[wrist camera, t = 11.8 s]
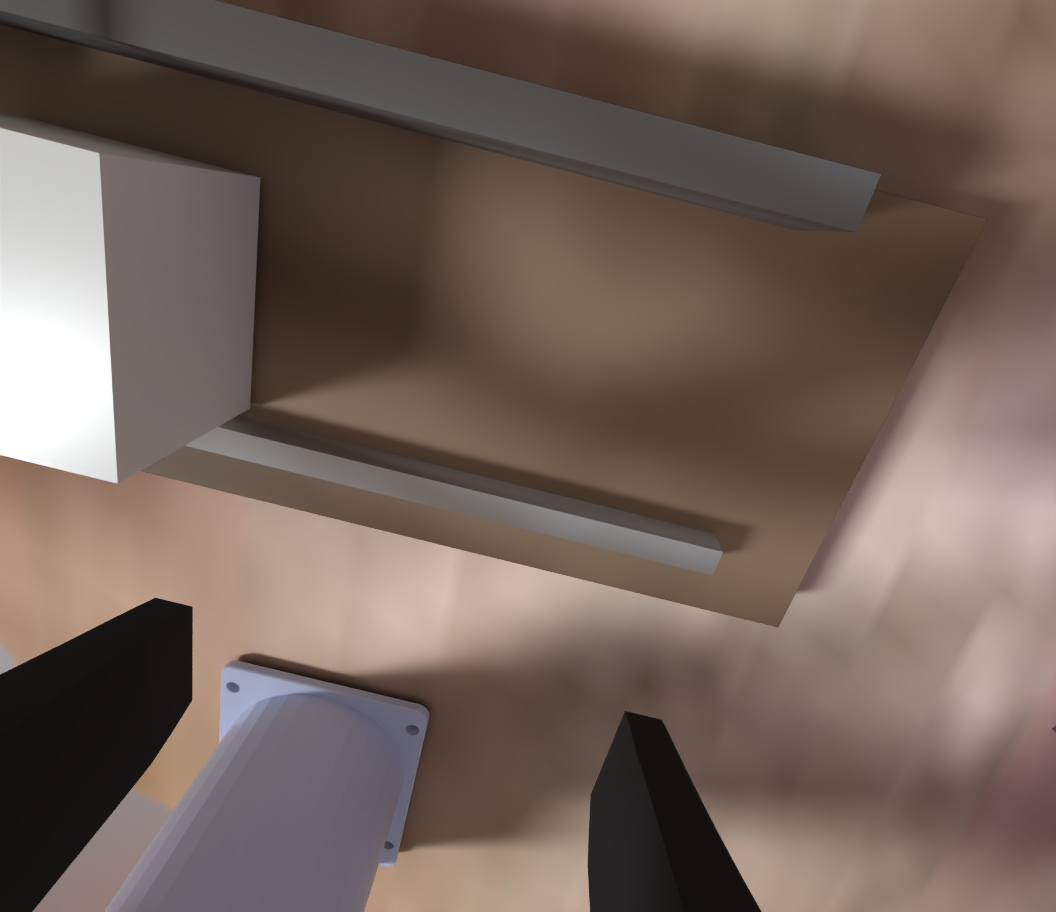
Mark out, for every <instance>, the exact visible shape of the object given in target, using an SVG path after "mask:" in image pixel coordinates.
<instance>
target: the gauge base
mask: <svg viewBox="0 0 1056 912" xmlns="http://www.w3.org/2000/svg"><path fill="white" fill-rule="evenodd" d="M0 112H4V113H9V114H14V115H18V116H22V117H26V118H30V119H34V120H38V121H42V122H46V123H50V124H54V125H57V126H61V127H65V128H69V129H73V130H77V131H81V132H85V133H89V134H93V135H96V136H100V137H104V138H108V139H112V140H116V141H120V142H124V143H128V144H132V145H136V146H139V147H143V148H147V149H151V150H155V151H159V152H163V153H167V154H171V155H175V156H179V157H182V158H186V159H190V160H194V161H198V162H202V163H206V164H210V165H214V166H218V167H222V168H225V169H229V170H233V171H237V172H241V173H245V174H249V175H253V176H257V177H260V198H259V220H258V242H257V265H256V287H255V310H254V332H253V355H252V377H251V400H250V409H248V410H247V411H245V412H243V413H241V414H240V415H238V416H236V417H234V418H233V419H231V420H229V421H227V422H225V423H224V424H222V425H220V426H218V427H217V428H215V429H213V430H211V431H210V432H208V433H206V434H204V435H202V436H201V437H199V438H197V439H195V440H194V441H192V442H190V443H188V444H187V445H185V446H183V447H181V448H180V449H178V450H176V451H174V452H172V453H171V454H169V455H167V456H165V457H164V458H162V459H160V460H158V461H157V462H155V463H153V464H151V465H149V466H148V467H146V468H144V469H142V470H141V471H142V472H146V473H151V474H155V475H159V476H163V477H167V478H171V479H175V480H179V481H183V482H187V483H191V484H195V485H200V486H204V487H208V488H212V489H216V490H220V491H224V492H228V493H232V494H236V495H240V496H244V497H248V498H253V499H257V500H261V501H265V502H269V503H273V504H277V505H281V506H285V507H289V508H293V509H297V510H302V511H306V512H310V513H314V514H318V515H322V516H326V517H330V518H334V519H338V520H342V521H346V522H350V523H355V524H359V525H363V526H367V527H371V528H375V529H379V530H383V531H387V532H391V533H395V534H399V535H404V536H408V537H412V538H416V539H420V540H424V541H428V542H432V543H436V544H440V545H444V546H448V547H452V548H457V549H461V550H465V551H469V552H473V553H477V554H481V555H485V556H489V557H493V558H497V559H501V560H505V561H510V562H514V563H518V564H522V565H526V566H530V567H534V568H538V569H542V570H546V571H550V572H554V573H559V574H563V575H567V576H571V577H575V578H579V579H583V580H587V581H591V582H595V583H599V584H603V585H607V586H612V587H616V588H620V589H624V590H628V591H632V592H636V593H640V594H644V595H648V596H652V597H656V598H661V599H665V600H669V601H673V602H677V603H681V604H685V605H689V606H693V607H697V608H701V609H705V610H709V611H714V612H718V613H722V614H726V615H730V616H734V617H738V618H742V619H746V620H750V621H754V622H758V623H762V624H767V625H771V626H775V627H779V625H780V623H781V621H782V619H783V617H784V615H785V613H786V611H787V609H788V607H789V605H790V603H791V601H792V599H793V597H794V596H795V594H796V592H797V590H798V588H799V586H800V584H801V582H802V580H803V578H804V576H805V574H806V572H807V570H808V568H809V566H810V564H811V562H812V560H813V559H814V557H815V555H816V553H817V551H818V549H819V547H820V545H821V543H822V541H823V539H824V537H825V535H826V533H827V531H828V529H829V527H830V525H831V523H832V521H833V520H834V518H835V516H836V514H837V512H838V510H839V508H840V506H841V504H842V502H843V500H844V498H845V496H846V494H847V492H848V490H849V488H850V486H851V484H852V483H853V481H854V479H855V477H856V475H857V473H858V471H859V469H860V467H861V465H862V463H863V461H864V459H865V457H866V455H867V453H868V451H869V449H870V447H871V446H872V444H873V442H874V440H875V438H876V436H877V434H878V432H879V430H880V428H881V426H882V424H883V422H884V420H885V418H886V416H887V414H888V412H889V410H890V409H891V407H892V405H893V403H894V401H895V399H896V397H897V395H898V393H899V391H900V389H901V387H902V385H903V383H904V381H905V379H906V377H907V375H908V373H909V372H910V370H911V368H912V366H913V364H914V362H915V360H916V358H917V356H918V354H919V352H920V350H921V348H922V346H923V344H924V342H925V340H926V338H927V336H928V335H929V333H930V331H931V329H932V327H933V325H934V323H935V321H936V319H937V317H938V315H939V313H940V311H941V309H942V307H943V305H944V303H945V301H946V299H947V298H948V296H949V294H950V292H951V290H952V288H953V286H954V284H955V282H956V280H957V278H958V276H959V274H960V272H961V270H962V268H963V266H964V264H965V262H966V260H967V259H968V257H969V255H970V253H971V251H972V249H973V247H974V245H975V243H976V241H977V239H978V237H979V235H980V233H981V231H982V229H983V227H984V225H985V223H986V222H987V220H988V219H984V218H980V217H976V216H973V215H969V214H965V213H961V212H957V211H953V210H950V209H946V208H942V207H938V206H934V205H930V204H927V203H923V202H919V201H915V200H911V199H907V198H904V197H900V196H896V195H892V194H888V193H884V192H881V191H877V190H875V188H876V186H877V183H878V181H879V179H880V176H881V174H878V173H874V172H871V171H867V170H863V169H859V168H855V167H851V166H848V165H844V164H840V163H836V162H832V161H828V160H825V159H821V158H817V157H813V156H809V155H805V154H802V153H798V152H794V151H790V150H786V149H783V148H779V147H775V146H771V145H767V144H763V143H760V142H756V141H752V140H748V139H744V138H740V137H737V136H733V135H729V134H725V133H721V132H717V131H714V130H710V129H706V128H702V127H698V126H695V125H691V124H687V123H683V122H679V121H675V120H672V119H668V118H664V117H660V116H656V115H652V114H649V113H645V112H641V111H637V110H633V109H629V108H626V107H622V106H618V105H614V104H610V103H607V102H603V101H599V100H595V99H591V98H587V97H584V96H580V95H576V94H572V93H568V92H564V91H561V90H557V89H553V88H549V87H545V86H541V85H538V84H534V83H530V82H526V81H522V80H519V79H515V78H511V77H507V76H503V75H499V74H496V73H492V72H488V71H484V70H480V69H476V68H473V67H469V66H465V65H461V64H457V63H453V62H450V61H446V60H442V59H438V58H434V57H430V56H427V55H423V54H419V53H415V52H411V51H408V50H404V49H400V48H396V47H392V46H388V45H385V44H381V43H377V42H373V41H369V40H365V39H362V38H358V37H354V36H350V35H346V34H342V33H339V32H335V31H331V30H327V29H323V28H320V27H316V26H312V25H308V24H304V23H300V22H297V21H293V20H289V19H285V18H281V17H277V16H274V15H270V14H266V13H262V12H258V11H254V10H251V9H247V8H243V7H239V6H235V5H232V4H228V3H224V2H220V1H216V0H0Z"/></svg>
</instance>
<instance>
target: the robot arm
mask: <svg viewBox="0 0 1056 912" xmlns="http://www.w3.org/2000/svg"><path fill="white" fill-rule="evenodd" d="M191 701H192V607H191V606H187V605H183V604H179V603H175V602H170V601H166V600H162V599H158V598H154V599H152V600H150V601H148V602H146V603H144V604H142V605H139V606H137V607H135V608H133V609H131V610H129V611H127V612H125V613H123V614H121V615H119V616H117V617H115V618H113V619H111V620H109V621H107V622H105V623H103V624H101V625H99V626H97V627H95V628H93V629H91V630H89V631H87V632H85V633H83V634H81V635H79V636H77V637H76V638H74V639H72V640H70V641H68V642H66V643H64V644H62V645H60V646H58V647H56V648H54V649H51V650H49V651H47V652H45V653H43V654H41V655H39V656H37V657H35V658H33V659H31V660H29V661H27V662H25V663H23V664H21V665H19V666H17V667H15V668H13V669H11V670H9V671H7V672H5V673H3V674H1V675H0V912H32V911H33V910H34V909H35V908H36V906H37V905H38V904H39V903H40V902H41V900H42V899H43V898H44V897H45V895H46V894H47V893H48V892H49V890H50V889H51V888H52V887H53V885H54V884H55V883H56V882H57V880H58V879H59V878H60V877H61V875H62V874H63V873H64V872H65V870H66V869H67V868H68V867H69V865H70V864H71V863H72V862H73V860H74V859H75V858H76V857H77V855H79V853H80V852H81V851H82V850H83V848H84V847H85V846H86V845H87V843H88V842H89V841H90V839H91V838H92V837H93V836H94V835H95V833H96V832H97V831H98V830H99V829H100V827H101V826H102V825H103V824H104V822H105V821H106V820H107V819H108V817H109V816H110V815H111V814H112V812H113V811H114V810H115V809H116V807H117V806H118V805H119V804H120V802H121V801H122V800H123V799H124V797H125V796H126V795H127V794H128V792H129V791H130V790H131V789H132V787H133V786H134V785H135V784H136V782H137V781H138V780H139V779H140V777H141V776H142V775H143V774H144V772H145V771H146V770H147V768H148V767H149V766H150V765H151V763H152V762H153V760H154V759H155V757H156V756H157V754H158V753H159V751H160V750H161V748H162V747H163V745H164V744H165V742H166V741H167V739H168V738H169V736H170V735H171V733H172V732H173V730H174V728H175V727H176V725H177V724H178V722H179V720H180V719H181V717H182V716H183V714H184V712H185V711H186V709H187V708H188V706H189V704H190V703H191ZM428 720H429V712H428V710H427V709H426V708H425V707H424V706H423V705H420V704H417V703H413V702H408V701H404V700H400V699H396V698H392V697H388V696H383V695H379V694H375V693H371V692H367V691H362V690H358V689H354V688H350V687H346V686H342V685H337V684H333V683H329V682H325V681H321V680H317V679H312V678H308V677H304V676H300V675H296V674H292V673H287V672H283V671H279V670H275V669H271V668H266V667H262V666H258V665H254V664H250V663H246V662H241V661H231V662H229V663H228V664H227V665H226V666H225V667H224V668H223V670H222V672H221V697H220V731H219V745H218V746H217V748H216V749H215V751H214V752H213V754H212V755H211V757H210V758H209V759H208V761H207V762H206V764H205V765H204V767H203V768H202V770H201V771H200V773H199V774H198V775H197V777H196V778H195V780H194V781H193V783H192V784H191V786H190V787H189V789H188V790H187V792H186V793H185V794H184V796H183V797H182V799H181V800H180V802H179V803H178V805H177V806H176V808H175V809H174V811H173V812H172V813H171V815H170V816H169V818H168V819H167V821H166V822H165V824H164V825H163V827H162V828H161V830H160V831H159V833H158V834H157V835H156V837H155V838H154V840H153V841H152V843H151V844H150V846H149V847H148V849H147V850H146V851H145V853H144V854H143V856H142V857H141V859H140V860H139V862H138V863H137V865H136V866H135V868H134V869H133V870H132V872H131V873H130V875H129V876H128V878H127V879H126V881H125V882H124V884H123V885H122V886H121V888H120V889H119V891H118V892H117V894H116V895H115V897H114V898H113V900H112V901H111V903H110V904H109V905H108V907H107V908H106V910H105V911H104V912H364V910H365V907H366V903H367V900H368V897H369V894H370V890H371V887H372V884H373V881H374V877H375V874H376V871H377V868H378V865H380V866H386V867H388V866H392V865H394V864H395V862H396V860H397V856H398V852H399V848H400V844H401V839H402V835H403V830H404V826H405V822H406V817H407V813H408V808H409V804H410V800H411V795H412V791H413V786H414V782H415V777H416V773H417V769H418V764H419V760H420V755H421V751H422V747H423V742H424V738H425V733H426V729H427V725H428ZM411 725H414V726H416V727H414V726H411ZM588 879H589V898H590V912H761V910H760V908H759V907H758V905H757V903H756V901H755V899H754V898H753V896H752V894H751V892H750V891H749V889H748V887H747V885H746V883H745V882H744V880H743V878H742V876H741V874H740V873H739V871H738V869H737V867H736V865H735V863H734V861H733V860H732V858H731V856H730V854H729V852H728V850H727V848H726V847H725V845H724V843H723V841H722V839H721V837H720V835H719V834H718V832H717V830H716V828H715V826H714V824H713V822H712V820H711V818H710V816H709V814H708V812H707V810H706V808H705V806H704V804H703V802H702V800H701V798H700V796H699V794H698V792H697V790H696V788H695V786H694V784H693V782H692V780H691V778H690V776H689V774H688V772H687V770H686V768H685V766H684V764H683V762H682V760H681V758H680V756H679V754H678V752H677V750H676V748H675V745H674V743H673V741H672V739H671V737H670V735H669V733H668V731H667V729H666V727H665V725H664V723H663V722H662V720H660V719H656V718H652V717H648V716H643V715H639V714H635V713H631V712H627V711H625V713H624V715H623V718H622V720H621V723H620V725H619V727H618V730H617V732H616V735H615V737H614V740H613V742H612V745H611V747H610V749H609V752H608V754H607V757H606V759H605V762H604V764H603V766H602V769H601V771H600V774H599V776H598V779H597V781H596V784H595V786H594V788H593V791H592V793H591V802H590V822H589V846H588Z"/></svg>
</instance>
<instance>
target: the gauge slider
mask: <svg viewBox="0 0 1056 912" xmlns="http://www.w3.org/2000/svg"><path fill="white" fill-rule="evenodd" d="M259 198H260V177H257V176H253V175H249V174H245V173H241V172H237V171H233V170H229V169H225V168H222V167H218V166H214V165H210V164H206V163H202V162H198V161H194V160H190V159H186V158H182V157H179V156H175V155H171V154H167V153H163V152H159V151H155V150H151V149H147V148H143V147H139V146H136V145H132V144H128V143H124V142H120V141H116V140H112V139H108V138H104V137H100V136H96V135H93V134H89V133H85V132H81V131H77V130H73V129H69V128H65V127H61V126H57V125H54V124H50V123H46V122H42V121H38V120H34V119H30V118H26V117H22V116H18V115H14V114H9V113H4V112H0V455H3V456H7V457H11V458H15V459H19V460H23V461H27V462H32V463H36V464H40V465H44V466H48V467H52V468H56V469H60V470H64V471H68V472H72V473H77V474H81V475H85V476H89V477H93V478H97V479H101V480H105V481H109V482H113V483H117V484H118V483H119V482H121V481H123V480H125V479H127V478H128V477H130V476H132V475H134V474H135V473H137V472H139V471H141V470H142V469H144V468H146V467H148V466H149V465H151V464H153V463H155V462H157V461H158V460H160V459H162V458H164V457H165V456H167V455H169V454H171V453H172V452H174V451H176V450H178V449H180V448H181V447H183V446H185V445H187V444H188V443H190V442H192V441H194V440H195V439H197V438H199V437H201V436H202V435H204V434H206V433H208V432H210V431H211V430H213V429H215V428H217V427H218V426H220V425H222V424H224V423H225V422H227V421H229V420H231V419H233V418H234V417H236V416H238V415H240V414H241V413H243V412H245V411H247V410H248V409H250V400H251V377H252V355H253V332H254V310H255V287H256V265H257V242H258V220H259Z"/></svg>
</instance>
